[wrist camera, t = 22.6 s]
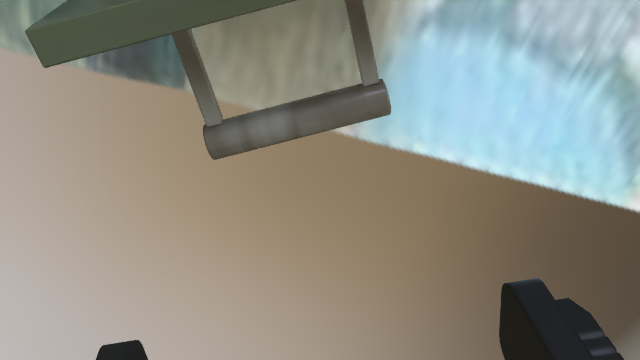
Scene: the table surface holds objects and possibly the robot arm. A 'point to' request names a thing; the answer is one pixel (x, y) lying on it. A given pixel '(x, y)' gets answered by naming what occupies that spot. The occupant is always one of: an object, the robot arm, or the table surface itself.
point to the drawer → (178, 19)
